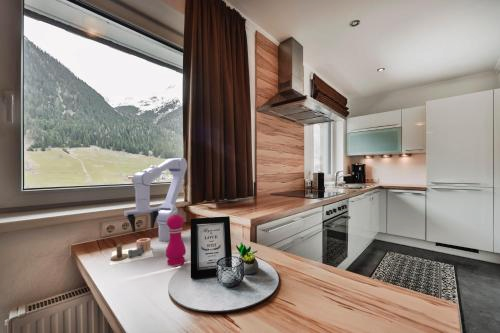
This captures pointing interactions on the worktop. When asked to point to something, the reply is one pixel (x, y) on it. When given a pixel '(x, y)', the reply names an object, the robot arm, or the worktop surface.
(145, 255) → the board
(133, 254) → the grey mechanical part
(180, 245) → the pepper mill
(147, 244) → the ring
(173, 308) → the worktop surface
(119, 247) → the peg
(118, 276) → the worktop surface
